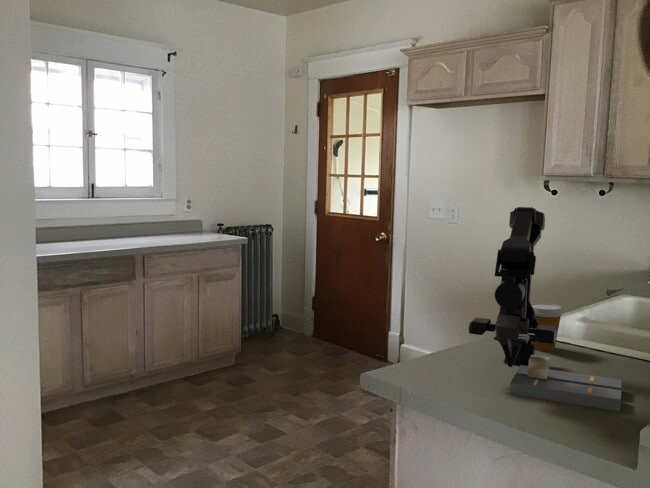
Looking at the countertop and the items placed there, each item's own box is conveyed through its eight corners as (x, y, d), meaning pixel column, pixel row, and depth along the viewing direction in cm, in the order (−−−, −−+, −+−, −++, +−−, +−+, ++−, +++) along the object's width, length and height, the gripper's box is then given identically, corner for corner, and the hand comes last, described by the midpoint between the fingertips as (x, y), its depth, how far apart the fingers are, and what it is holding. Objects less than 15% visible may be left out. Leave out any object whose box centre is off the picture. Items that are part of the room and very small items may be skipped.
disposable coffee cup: (560, 345, 174) (562, 303, 173) (561, 354, 165) (563, 311, 164) (524, 342, 177) (526, 301, 176) (524, 351, 168) (526, 308, 167)
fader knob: (527, 384, 139) (528, 359, 138) (530, 379, 142) (531, 355, 141) (546, 387, 137) (547, 362, 136) (548, 382, 140) (549, 357, 140)
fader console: (509, 393, 135) (510, 382, 135) (519, 375, 148) (520, 364, 148) (620, 411, 126) (621, 399, 126) (620, 390, 138) (621, 379, 138)
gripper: (464, 302, 137) (461, 370, 139) (552, 311, 129) (549, 383, 131) (475, 293, 147) (473, 357, 149) (558, 301, 139) (554, 368, 140)
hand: (510, 366), depth 142 cm, fingers closed
